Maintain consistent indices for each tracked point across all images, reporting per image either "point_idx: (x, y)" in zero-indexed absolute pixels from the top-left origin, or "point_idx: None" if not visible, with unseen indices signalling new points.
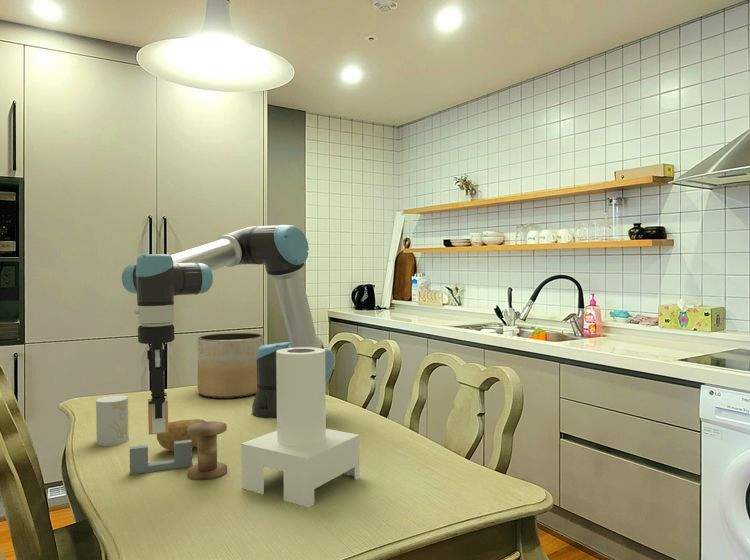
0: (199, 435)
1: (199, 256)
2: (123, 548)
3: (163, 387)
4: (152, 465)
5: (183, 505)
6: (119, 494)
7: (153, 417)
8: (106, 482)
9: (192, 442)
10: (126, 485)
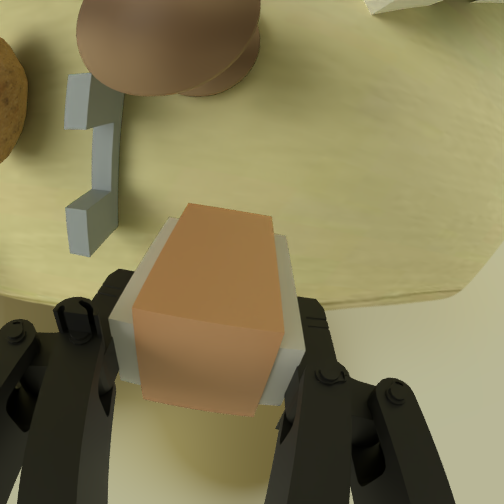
0: (239, 54)
1: None
2: (457, 284)
3: (441, 479)
4: (111, 180)
5: (388, 160)
6: None
7: None
8: None
9: (21, 73)
10: None
